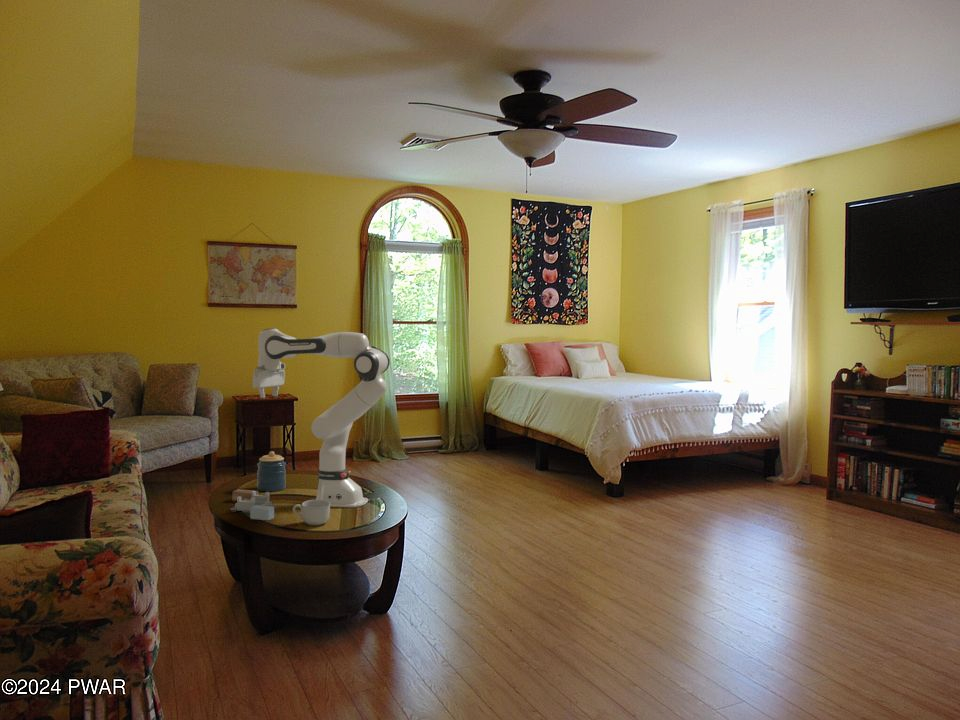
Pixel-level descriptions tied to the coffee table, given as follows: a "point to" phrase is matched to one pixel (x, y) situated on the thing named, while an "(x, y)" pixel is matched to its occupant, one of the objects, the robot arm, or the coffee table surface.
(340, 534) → the coffee table surface
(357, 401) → the robot arm
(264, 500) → the jig
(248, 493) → the tan cardboard carton
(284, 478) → the canister
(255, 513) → the pale grey upright block
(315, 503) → the teacup
